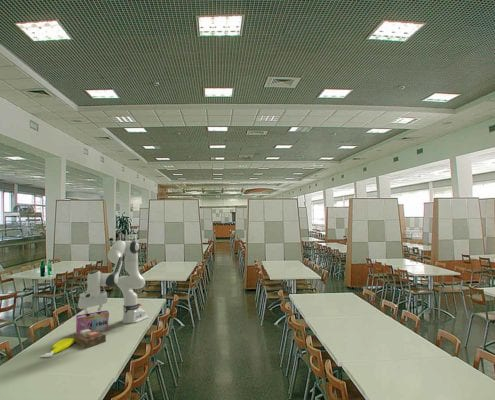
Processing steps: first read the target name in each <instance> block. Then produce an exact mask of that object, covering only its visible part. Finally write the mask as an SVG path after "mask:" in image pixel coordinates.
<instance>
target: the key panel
mask: <svg viewBox="0 0 495 400" xmlns="http://www.w3.org/2000/svg"><path fill="white" fill-rule="evenodd" d="M90 330H91V332H94V331H95V330H92V329H90ZM95 332H97V333H98V336H96V337H94V338H89V337H87V335H81V334H80V333H77V334H76V333H75V334H72V337H71V338H74V339H75V342H74V343H73V344H76V345H78V346H80V347H83V348H85V349H88V348H91V347H94V346H98V345H100V344H102V343H105V342H106V341H107V340H106V339H107V334H106V333H103V332H102V331H95Z"/></svg>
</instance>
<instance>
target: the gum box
mask: <svg viewBox="0 0 495 400" xmlns="http://www.w3.org/2000/svg"><path fill="white" fill-rule="evenodd" d="M109 316H110V313H109V311H108V310H101V311H95V312H90V313H89V312H88V314H85V313H84V314H77V315H76V316H75V317H76V318H75V320H76V321H75V322H76V323H75V324H76V325H75V334H77V333H80V331H82V330H85V329H89V330H90V329H92V330H95V331H98V332H102V331H107V330H109Z"/></svg>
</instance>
